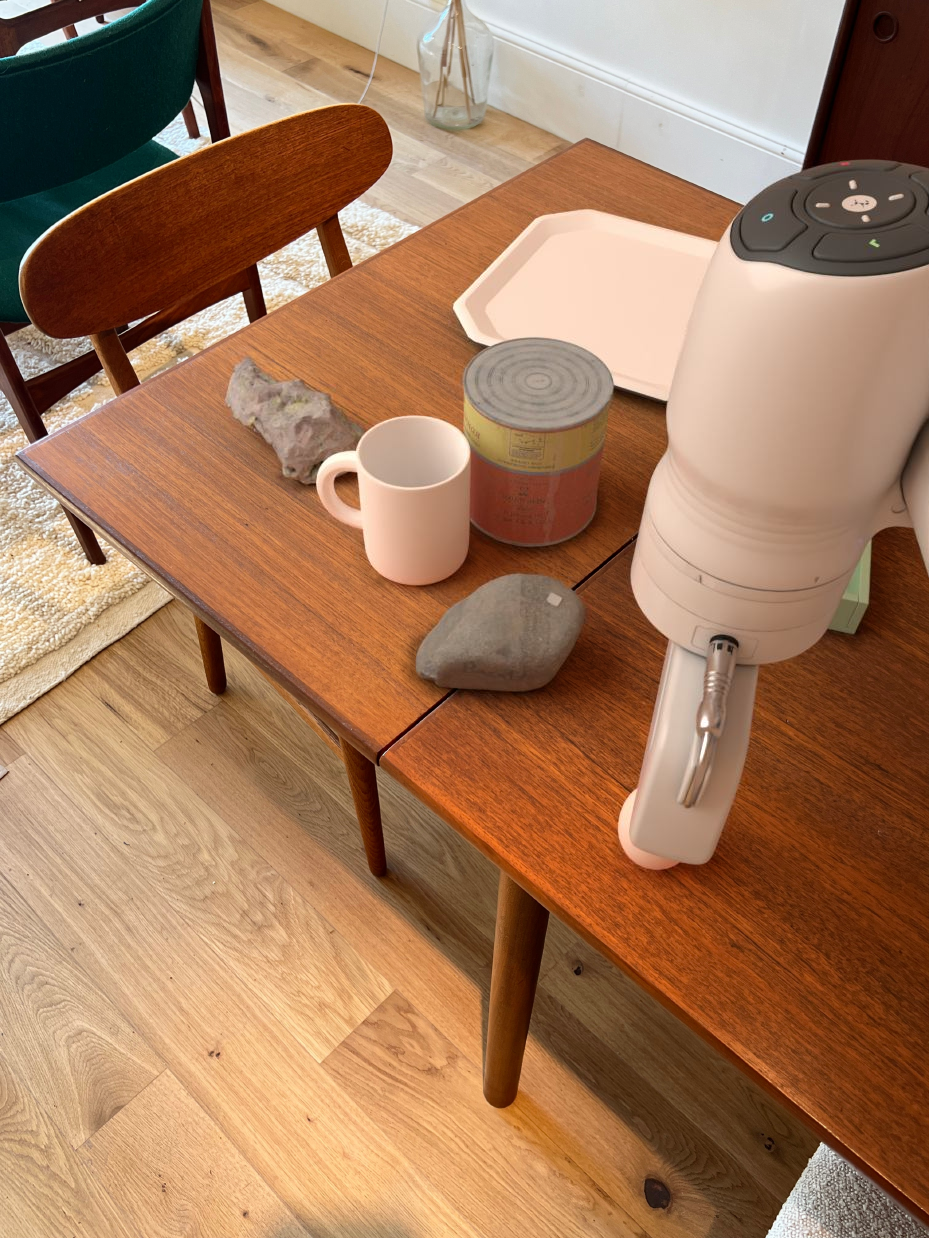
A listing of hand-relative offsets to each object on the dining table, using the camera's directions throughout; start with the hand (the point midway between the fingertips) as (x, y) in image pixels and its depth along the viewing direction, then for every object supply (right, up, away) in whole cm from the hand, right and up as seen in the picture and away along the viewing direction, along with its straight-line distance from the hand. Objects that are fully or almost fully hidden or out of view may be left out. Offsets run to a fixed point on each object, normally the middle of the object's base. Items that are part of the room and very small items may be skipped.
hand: (678, 740), depth 53 cm
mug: (-17, +12, +27) cm, 34 cm away
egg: (0, -8, +10) cm, 13 cm away
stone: (-9, +3, +20) cm, 22 cm away
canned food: (-6, +16, +31) cm, 35 cm away
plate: (+5, +38, +49) cm, 62 cm away
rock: (-26, +21, +35) cm, 48 cm away
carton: (+14, +15, +29) cm, 36 cm away
